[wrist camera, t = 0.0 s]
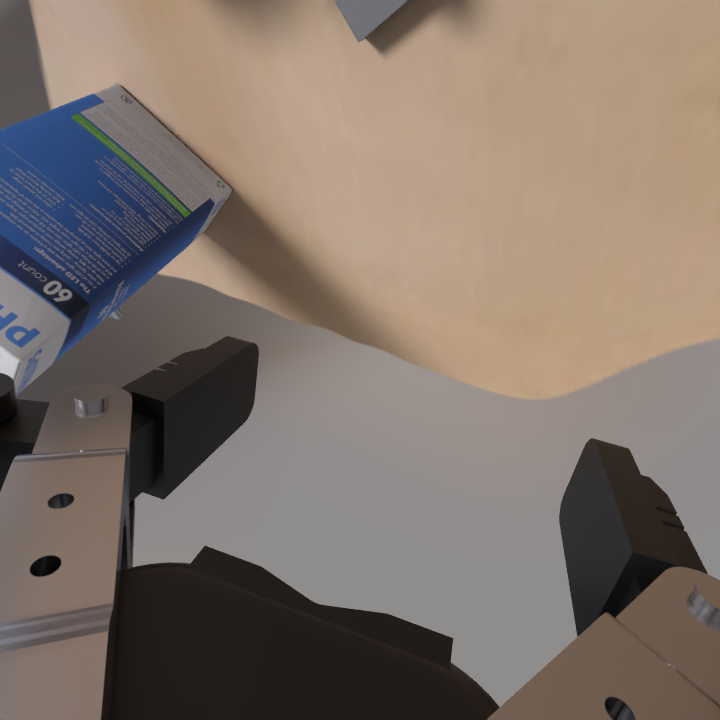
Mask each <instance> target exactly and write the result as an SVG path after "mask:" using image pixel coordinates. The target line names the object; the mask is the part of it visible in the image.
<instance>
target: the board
mask: <svg viewBox="0 0 720 720" xmlns="http://www.w3.org/2000/svg"><path fill="white" fill-rule="evenodd" d="M334 1H335V2H336V4H337V6H338V8H339V9H340V11H341V13H342V15H343V16H344V18H345V20H346V22H347V23H348V25H349V27H350V29H351V30H352V32H353V34H354V36H355V37H356V39H357V41H358V42H360V41H362V40H364V39H365V38H367V37H368V36H369V35H370V34H371V33H372V32H374V31H375V30H376V29H377V28H378V27H379V26H381V25H382V24H383V23H384V22H385V21H386V20H388V19H389V18H390V17H391V16H392V15H393V14H395V13H396V12H397V11H398V10H399V9H400V8H402V7H403V6H404V5H405V4H406V3H407V2H409V1H410V0H334Z"/></svg>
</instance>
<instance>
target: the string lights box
mask: <svg viewBox="0 0 720 720" xmlns="http://www.w3.org/2000/svg"><path fill="white" fill-rule="evenodd" d="M231 192H232V188H231V187H230V186H229V185H227V184H226V183H225V182H224V181H223V180H222V179H221V178H220V177H219V176H218V175H217V174H215V173H214V172H213V171H212V170H211V169H210V168H209V167H208V166H207V165H206V164H204V163H203V162H202V161H201V160H200V159H199V158H198V157H197V156H196V155H195V154H194V153H193V152H192V151H190V150H189V149H188V148H187V147H186V146H185V145H184V144H183V143H182V142H181V141H180V140H178V139H177V138H176V137H175V136H174V135H173V134H172V133H171V132H170V131H169V130H167V129H166V128H165V127H164V126H163V125H162V124H161V123H160V122H159V121H158V120H157V119H156V118H155V117H153V116H152V115H151V114H150V113H149V112H148V111H147V110H146V109H145V108H144V107H142V106H141V105H140V104H139V103H138V102H137V101H136V100H135V99H134V98H133V97H132V96H130V95H129V94H128V93H127V92H126V91H125V90H124V89H123V88H122V87H121V86H120V85H118V84H115V85H113V86H111V87H108V88H106V89H103V90H101V91H98V92H96V93H93V94H91V95H88V96H86V97H83V98H81V99H78V100H75V101H73V102H70V103H68V104H65V105H62V106H60V107H57V108H55V109H52V110H50V111H47V112H45V113H43V114H40V115H37V116H35V117H32V118H30V119H27V120H24V121H22V122H19V123H16V124H14V125H11V126H8V127H5V128H3V129H0V373H3V374H6V375H8V376H10V377H11V378H12V379H13V381H14V385H15V392H16V395H17V394H19V393H20V392H21V391H22V390H23V389H24V388H25V387H27V386H28V385H29V384H30V383H31V382H32V381H34V380H35V379H36V378H37V377H38V376H39V375H40V374H42V373H43V372H44V371H45V370H46V369H47V368H48V367H50V366H51V365H52V364H53V363H54V362H55V361H56V360H58V359H59V358H60V357H61V356H62V355H63V354H65V353H66V352H67V351H68V350H69V349H70V348H71V347H73V346H74V345H75V344H76V343H77V342H78V341H79V340H81V339H82V338H83V337H84V336H85V335H86V334H88V333H89V332H90V331H91V330H92V329H93V328H94V327H96V326H97V325H98V324H99V323H100V322H101V321H102V320H104V319H105V318H106V317H107V316H108V315H109V314H111V313H112V312H113V311H114V310H115V309H116V308H117V307H119V306H120V305H121V304H122V303H123V302H124V301H125V300H126V299H128V297H130V296H131V295H132V294H133V293H135V292H136V291H137V290H138V289H139V288H140V287H141V286H143V285H144V284H145V283H146V282H147V281H148V280H149V279H151V278H152V277H153V276H154V275H155V274H156V273H158V272H159V271H160V270H161V269H162V268H163V267H164V266H166V265H167V264H168V263H169V262H170V261H171V260H172V259H174V258H175V257H176V256H177V255H178V254H179V253H181V252H182V251H183V250H184V249H185V248H186V247H188V246H189V245H190V244H191V243H192V242H193V241H194V240H195V239H197V238H198V237H199V236H200V235H201V234H202V233H204V232H205V230H206V229H207V227H208V226H209V225H210V223H211V222H212V220H213V219H214V217H215V216H216V214H217V213H218V211H219V210H220V209H221V207H222V206H223V204H224V203H225V201H226V200H227V199H228V197H229V196H230V194H231Z"/></svg>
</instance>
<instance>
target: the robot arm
mask: <svg viewBox="0 0 720 720" xmlns="http://www.w3.org/2000/svg"><path fill="white" fill-rule="evenodd" d="M258 357H259V351H258V346H257V345H256V344H255V343H251V342H248V341H244V340H241V339H237V338H234V337H230V336H227V337H224V338H223V339H221V340H219V341H217V342H216V343H214V344H212V345H210V346H209V347H207V348H205V349H204V348H203V349H199V350H195V351H191V352H186V353H183V354H181V355H180V356H178V357H176V358H174V359H172V360H171V361H169V363H165V364H163V365H162V366H160V367H158V368H157V370H155V369H154V370H152V371H151V372H149V373H147V374H145V375H143V376H142V377H140V378H138V379H136V380H134V381H133V382H131V383H129V384H127V385H125V386H124V387H122V388H119V387H115V386H110V385H85V386H79V387H74V388H71V389H68V390H65V391H63V392H61V393H59V394H58V395H56V396H55V397H54V398H53V399H52V400H51V402H50V403H49V402H39V401H30V400H20V399H16V392H15V385H14V381H13V379H12V378H11V377H10V376H8V375H6V374H3V373H0V720H720V580H718V579H716V578H714V577H712V576H710V575H708V574H707V571H706V569H705V568H704V566H703V564H702V562H701V560H700V558H699V556H698V554H697V552H696V550H695V548H694V546H693V544H692V542H691V540H690V538H689V536H688V534H687V532H686V531H684V526H683V524H682V522H681V520H680V518H679V517H678V516H676V514H677V512H676V510H675V509H674V507H673V505H672V503H671V501H670V499H669V497H668V495H667V494H666V493H665V492H664V491H663V490H662V489H661V488H660V487H659V486H658V485H657V484H656V483H655V482H654V481H653V480H652V479H651V478H649V477H646V476H643V475H641V474H640V471H639V469H638V467H637V465H636V463H635V461H634V459H633V456H632V454H631V452H630V450H629V449H628V448H625V447H622V446H618V445H614V444H611V443H607V442H604V441H600V440H597V439H593V438H592V439H590V440H589V441H588V442H587V443H586V445H585V447H584V449H583V451H582V454H581V456H580V458H579V461H578V463H577V465H576V468H575V470H574V472H573V475H572V477H571V479H570V482H569V484H568V486H567V489H566V491H565V494H564V496H563V499H562V503H561V508H560V515H559V521H560V529H561V535H562V541H563V547H564V554H565V560H566V566H567V573H568V579H569V586H570V592H571V598H572V604H573V611H574V618H575V624H576V630H577V638H576V639H575V640H574V641H573V642H572V643H570V644H569V645H568V646H567V647H566V648H565V649H564V650H563V651H562V652H561V653H560V654H558V655H557V656H556V657H555V658H554V659H553V660H552V661H551V662H549V663H548V664H547V665H546V666H545V667H544V668H543V669H542V670H541V671H540V672H538V673H537V674H536V675H535V676H534V677H533V678H532V679H531V680H530V681H529V682H527V683H526V684H525V685H524V686H523V687H522V688H521V689H520V690H519V691H518V692H516V693H515V694H514V695H513V696H512V697H511V698H510V699H509V700H508V701H506V703H504V704H503V705H502V706H501V707H499V706H498V705H497V704H496V703H495V701H494V700H493V699H492V698H491V696H490V695H489V694H488V693H487V692H486V691H485V690H484V689H483V688H482V687H481V686H480V685H479V684H478V683H477V682H475V681H474V680H473V679H472V678H471V677H469V676H468V675H467V674H466V673H464V672H463V671H462V670H461V669H459V668H458V667H456V666H455V665H454V664H452V663H451V653H452V644H453V638H451V637H448V636H445V635H443V634H440V633H437V632H435V631H432V630H429V629H427V628H424V627H421V626H419V625H416V624H413V623H411V622H408V621H405V620H403V619H400V618H397V617H395V616H392V615H389V614H385V613H378V612H370V611H363V610H355V609H348V608H340V607H333V606H325V605H320V604H317V603H315V602H313V601H311V600H309V599H308V598H306V597H305V596H303V595H302V594H300V593H299V592H298V591H296V590H294V589H293V588H292V587H290V586H289V585H287V584H286V583H284V582H283V581H281V580H280V579H279V578H277V577H276V576H274V575H273V574H271V573H269V572H268V571H267V570H265V569H264V568H262V567H261V566H258V565H255V564H252V563H250V562H247V561H244V560H242V559H239V558H236V557H234V556H231V555H228V554H226V553H223V552H220V551H218V550H215V549H212V548H210V547H207V546H204V548H203V549H202V550H201V551H200V553H199V554H198V555H197V556H196V558H195V559H194V560H193V561H192V562H191V564H188V563H157V564H148V565H143V566H137V567H133V546H134V524H135V498H136V497H137V496H138V495H139V494H140V493H142V492H144V493H147V494H150V495H152V496H155V497H158V498H161V499H165V498H166V497H167V496H168V495H169V494H170V493H171V492H172V491H173V490H174V489H175V488H176V487H177V486H179V484H181V483H182V482H183V481H184V480H185V479H186V478H187V477H188V476H189V475H190V474H191V473H192V472H193V471H194V470H195V469H196V468H197V467H198V466H200V465H201V464H202V463H203V462H204V461H205V460H206V459H207V458H208V457H209V456H210V455H211V454H212V453H213V452H214V451H215V450H216V449H217V448H218V447H219V446H220V445H222V444H223V443H224V442H225V441H226V440H227V439H228V438H229V437H230V436H231V435H232V434H233V433H234V432H235V431H236V430H237V429H238V428H239V427H240V426H241V425H243V423H245V421H246V420H247V419H248V417H249V415H250V413H251V411H252V408H253V404H254V399H255V388H256V378H257V367H258Z"/></svg>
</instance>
